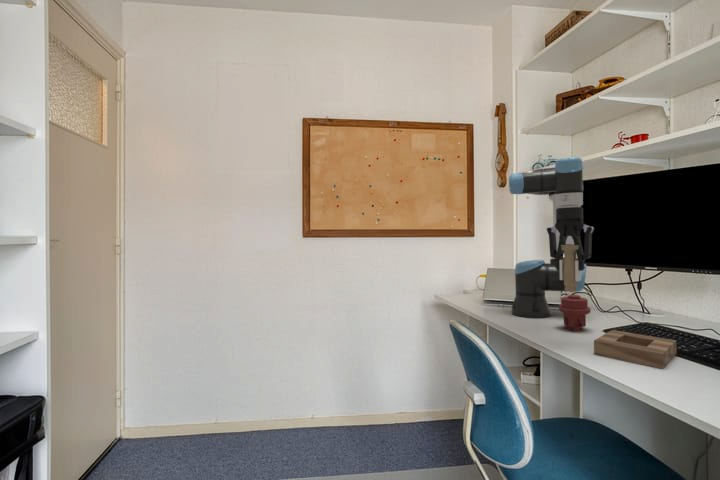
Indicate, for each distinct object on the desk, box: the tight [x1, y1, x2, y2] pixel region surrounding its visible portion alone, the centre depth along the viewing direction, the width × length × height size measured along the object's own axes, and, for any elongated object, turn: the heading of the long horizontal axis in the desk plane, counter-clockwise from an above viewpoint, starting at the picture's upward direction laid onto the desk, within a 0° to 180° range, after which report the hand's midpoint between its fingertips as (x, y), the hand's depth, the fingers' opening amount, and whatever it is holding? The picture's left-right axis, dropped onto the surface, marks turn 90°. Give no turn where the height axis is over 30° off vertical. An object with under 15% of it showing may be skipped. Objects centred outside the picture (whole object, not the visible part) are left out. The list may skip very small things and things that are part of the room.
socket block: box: [593, 329, 677, 370], centre depth 107 cm, size 16×16×4 cm
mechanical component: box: [558, 294, 591, 332], centre depth 134 cm, size 12×10×10 cm
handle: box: [561, 244, 579, 293], centre depth 117 cm, size 5×6×15 cm
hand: (570, 279), depth 117 cm, fingers closed on handle, 4 cm apart
